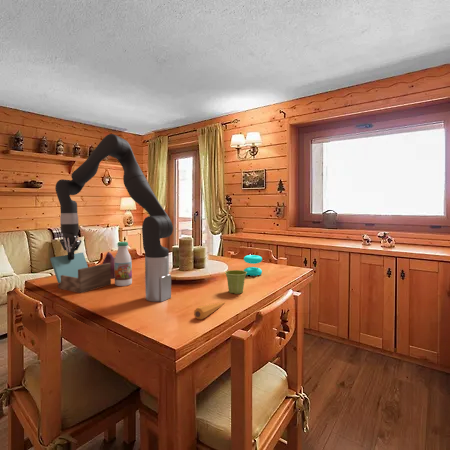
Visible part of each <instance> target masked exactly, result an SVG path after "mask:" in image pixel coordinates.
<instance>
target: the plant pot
mask: <svg viewBox="0 0 450 450" xmlns="http://www.w3.org/2000/svg"><path fill="white" fill-rule="evenodd" d="M224 274H225V276H226V281H227V286H228V292H229V293H230V294H234V295H237V294H241V293H243V292H244V286H245V280H246V279H245V278H246V276H247V275H246V274H247V272H245V271H244V270H237V269H235V270H234V269H231V270H227V271H225V272H224Z"/></svg>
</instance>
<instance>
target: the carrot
mask: <svg viewBox="0 0 450 450" xmlns="http://www.w3.org/2000/svg"><path fill="white" fill-rule="evenodd" d="M224 304H225V302H217V303H211V304H210V303H209V304H205V305H199V306H198V307H196V308H195V309H194V311H193V316H194V317H195V318H196V320H200V321H201V320H204V319H206V318H207V317H209V316H210V315H212V314H213V313H214V312H215V311H217V310H218V309H220V308H221V307H222V306H223V305H224Z"/></svg>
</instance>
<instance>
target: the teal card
mask: <svg viewBox="0 0 450 450" xmlns="http://www.w3.org/2000/svg"><path fill="white" fill-rule="evenodd" d="M49 260H50V263H51V267H52V268H53V271H54V275H55V277H56V281H57V284H60V283H61V275H65V276H70V277H76V278H78V269H82V268H87V267H89V266H88V263H87V259H86V257H85V254H84V252H77V253H74V260H68V254H64V255H59V256H52V257H50V258H49Z"/></svg>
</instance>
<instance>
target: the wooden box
mask: <svg viewBox="0 0 450 450" xmlns="http://www.w3.org/2000/svg"><path fill="white" fill-rule="evenodd" d="M57 284H58V285H57V286H58V287H57V288H58V289H60V290H65V291H69V292H73V293H74V292H75V293H79V294H83V293H86V292H89V291H93V290H96V288H97V289H99V288H103V287H107V286H111V284H112V279H111V268H110V263H106V264H103V263H102V264H98V265H97V264H96V265H93V266H88V267H87V268H82V269H78V278H76V277H70V276H65V275H61V283H57ZM106 285H107V286H106Z"/></svg>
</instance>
